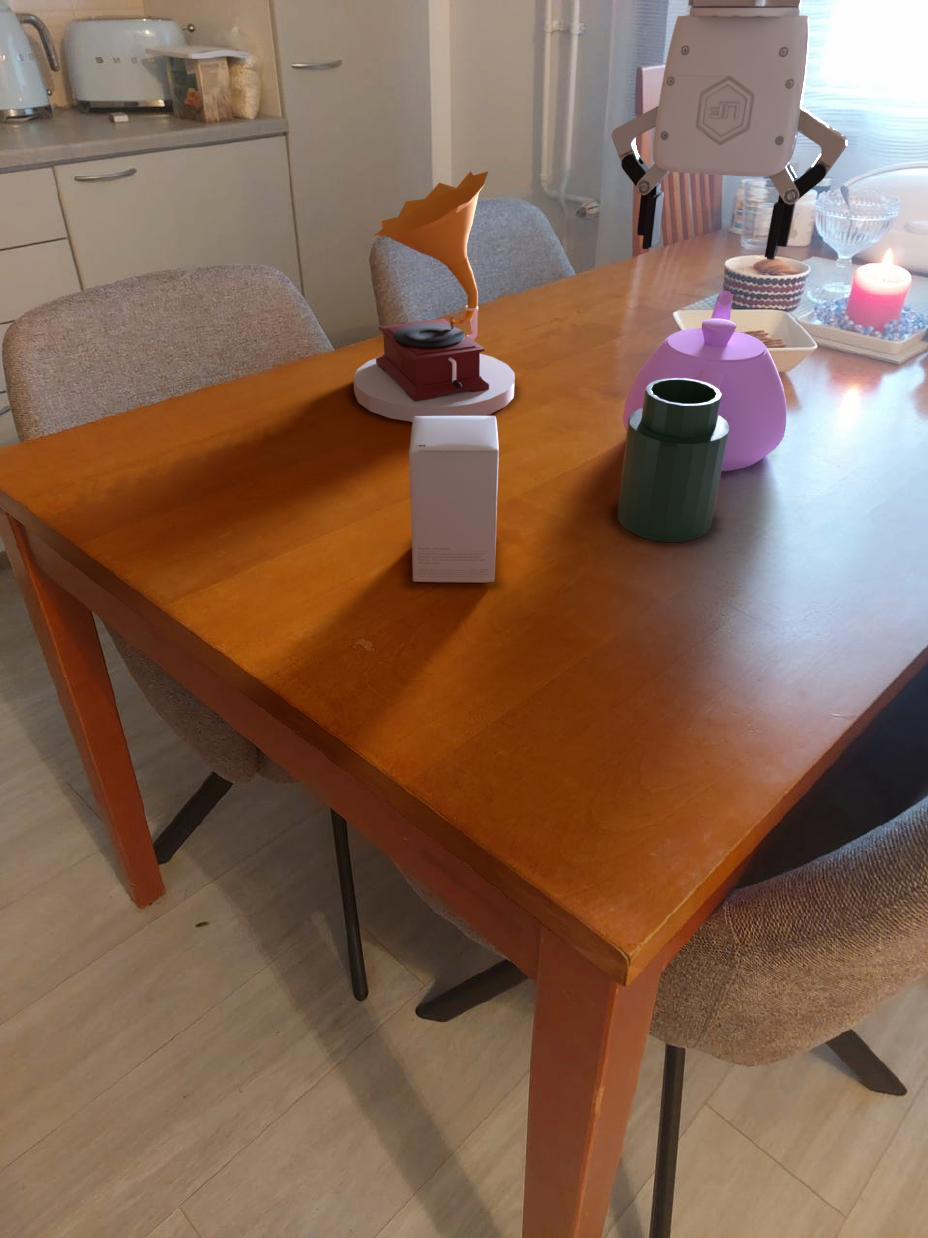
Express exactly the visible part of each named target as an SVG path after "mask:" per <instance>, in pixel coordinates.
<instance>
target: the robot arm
mask: <svg viewBox="0 0 928 1238" xmlns="http://www.w3.org/2000/svg"><path fill="white" fill-rule="evenodd" d="M802 2H803V0H688V3H687V4H688V6H689V15H687V14H686V15H677V18H676V21H675V23H674V28H673V31H672V35H671V39H670V43H669V47H668V51H667V55H666V56H667V57H666V60H665V61H666V62H665V66H664V71H663V77H662V83H661V87H660V94H659V100H658V105H657V106H656V107H654V108H653V107H652V109H649V110H648V111H646V112H644V113H643V114H640V115H638V116H636V117H635V118H632V119H631V120H628V122H625V123H623V124H622V125H619V126H617V127H616V128H614V129H613V130H612V132H611V139H612V142H613V145H614V148H615V150H616V153H617V156H618V158H619V160H620V162H621V163H620V166H621V168H622V170H623V171H624V173H625V174H626V175H627V177H628V178H629V179H630V182H632V183H633V184H634V186H635V187H636V192H637V193H638V195H640V199H639V209H638V219H637V229H636V230H637V231H636V233H637V236H640V237H642V245H641V248H642V250H651V249H653V247H654V246H656V244H657V243H659V241H660V234H661V233H660V232H661V224H662V223H661V222H662V215H663V207H664V197H665V194H664V193H665V192H663V189H662V188H661V187H662V182H663V181H664V179H665V178H666V177H667V176H668V175H669V174H670V173H671V172H673V173H683V174H697V175H713V176H731V177H754V178H757V177H758V178H761V177H763V178H764V177H769V179H770V181H771V182H772V184H773V186H774V188H775V190H776V191H777V193H778V199H776V201H775V203H774V204H773V207H772V211H771V212H772V213H771V219H770V223H769V230H768V235H767V241H766V247H765V252H764V258H766V260H771V261H774V260H775V259H776V256H777V255H778V251H779V247H782V248H787V246H788V244H789V239H790V235H791V229H792V223H793V218H794V215H795V214H794V213H795V208H796V203H797V202H798V201H799V200H800V199H801V198H802V197H803V196H805V195H806V194H808V193H809V192H810V191H811V190H812V189H813V188H815V187H816V186H817V185H819V183H821V182H822V181H823V180H824V179H825V177H826V176H827V175H828V174H829V171H830V170H831V169H832V167H833V166H834V165H835V163H836V162H837V161H838V160H839V158H840V156H841V155H842V154H843V153H844V151H845V150H846V148H847V146H848V138H847V137H846V136H845V135H844V134H843V133H841V132H839V131H838V130H836V129H835V128H833V127H832V126H830V125H829V124H828V123H826V122H825V121H823V120H822V119H820V118H819V117H818V116H816V115H814V114H813V113H811V112H810V111H809V110H807V109H806V108H804V107H803V102H804V93H805V87H806V86H805V85H806V77H807V75H806V74H807V66H808V57H809V39H810V38H809V36H810V23H809V22H810V19H809V15H802V14H800V13H801V6H802ZM690 6H691V7H690ZM652 129H654V133H653V141H652V160H653V164H652V165H651V167H649V166H648V165H647V163H646V162H645V160H644V159H643V158H642V156H641V155H640V154H639V153H638V150H637V145H636V139H637V138H638V137H639V136H640V135H642V134H644V133H646V132H648V131H650V130H652ZM799 133H800V134H801V135H803V136H804V137H806V138H807V139H809V140H810V141H811V142H813V143H814V144H816V145H818V146H819V147H820V149H821V150H820V154H819V155H818V157H817V158H816V160H815V161H814V163H813V164H812V165H811V166H810V167H808V168H807V169H806V170H804V172H802V173H801V174H800V175H798V176H797V174H796V173H795V171H794V169H793V167H792V165H791V164H790V161H791V159H792V157H793V154H794V151H795V148H796V144H797V140H798V134H799Z"/></svg>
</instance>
